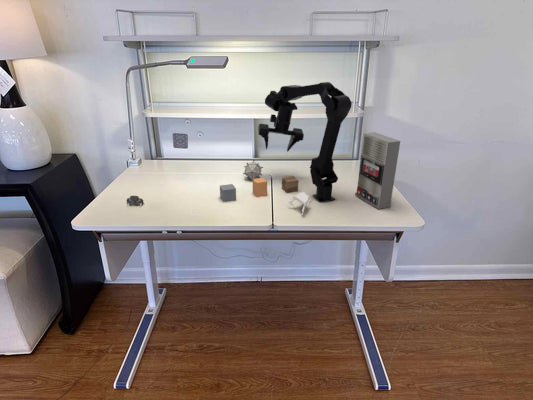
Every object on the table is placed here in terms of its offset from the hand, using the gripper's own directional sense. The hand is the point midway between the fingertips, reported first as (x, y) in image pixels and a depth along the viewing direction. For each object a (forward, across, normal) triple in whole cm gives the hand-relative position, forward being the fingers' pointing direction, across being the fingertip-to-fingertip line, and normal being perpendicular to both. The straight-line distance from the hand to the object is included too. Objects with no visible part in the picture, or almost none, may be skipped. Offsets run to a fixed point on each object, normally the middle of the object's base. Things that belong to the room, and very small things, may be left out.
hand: (276, 149), depth 160 cm
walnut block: (+9, -5, +17) cm, 20 cm away
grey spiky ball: (+14, +8, +4) cm, 17 cm away
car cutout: (+15, +49, +28) cm, 59 cm away
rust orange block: (+10, +7, +20) cm, 24 cm away
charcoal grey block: (+11, +20, +24) cm, 33 cm away
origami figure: (+5, -6, +35) cm, 36 cm away
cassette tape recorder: (+2, -34, +30) cm, 45 cm away
